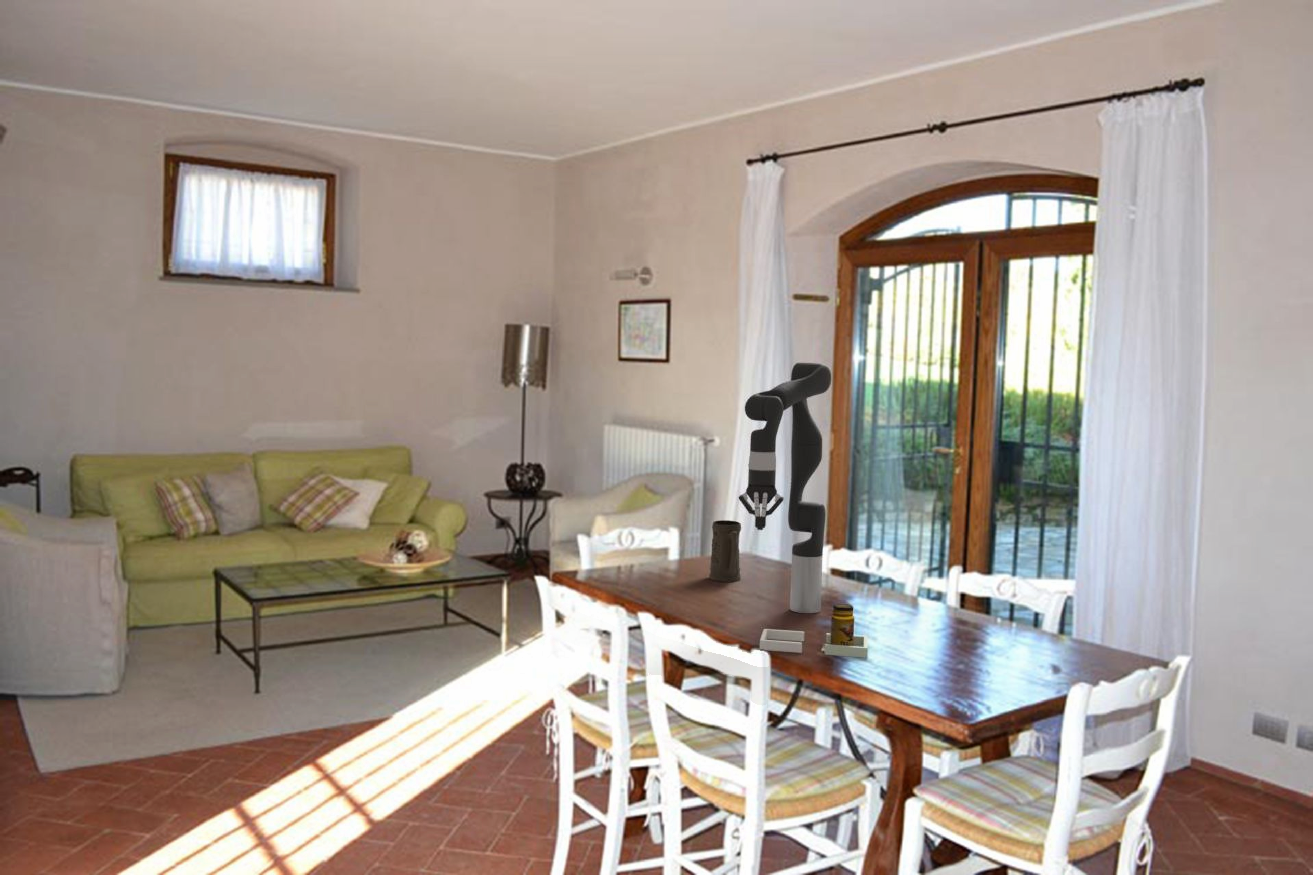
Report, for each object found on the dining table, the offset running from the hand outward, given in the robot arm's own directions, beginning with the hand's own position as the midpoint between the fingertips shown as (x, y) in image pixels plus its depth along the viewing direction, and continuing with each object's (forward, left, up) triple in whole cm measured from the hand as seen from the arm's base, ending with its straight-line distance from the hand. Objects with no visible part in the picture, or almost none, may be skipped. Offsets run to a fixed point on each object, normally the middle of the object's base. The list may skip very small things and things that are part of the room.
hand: (760, 529), depth 310 cm
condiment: (+12, +23, -29) cm, 39 cm away
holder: (+12, +9, -29) cm, 33 cm away
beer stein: (-67, -16, -29) cm, 75 cm away
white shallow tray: (+12, +24, -29) cm, 40 cm away
